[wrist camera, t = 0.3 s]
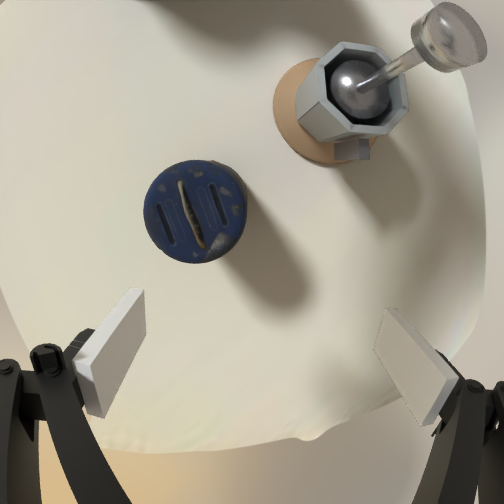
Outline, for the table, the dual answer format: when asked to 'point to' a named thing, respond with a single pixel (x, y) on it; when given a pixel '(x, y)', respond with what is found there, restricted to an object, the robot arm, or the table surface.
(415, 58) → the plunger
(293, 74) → the press carafe
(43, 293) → the table surface
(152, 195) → the canister
